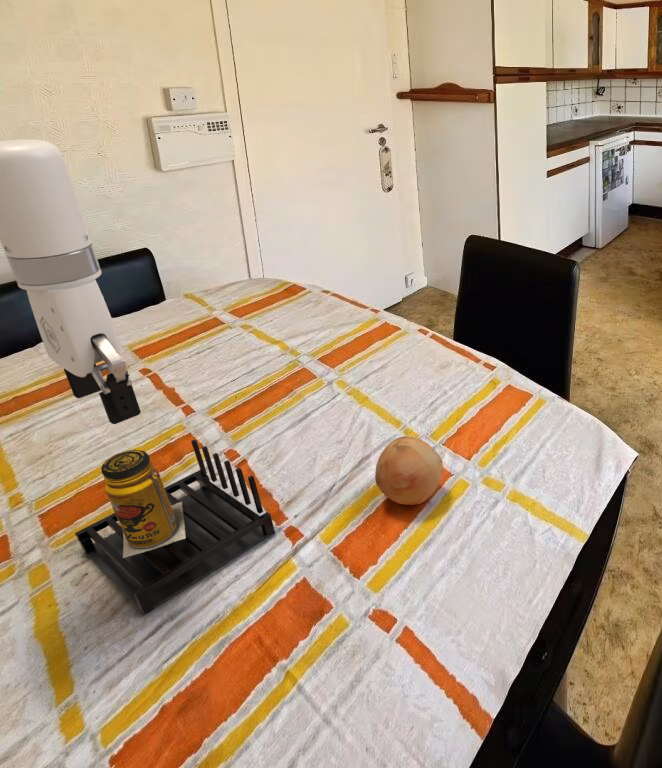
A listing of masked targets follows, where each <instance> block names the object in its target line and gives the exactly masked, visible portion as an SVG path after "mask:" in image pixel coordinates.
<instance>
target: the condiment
mask: <svg viewBox="0 0 662 768" xmlns="http://www.w3.org/2000/svg"><path fill="white" fill-rule="evenodd" d="M101 474H102V475H103V480H104V482H105V486H104V490H105V493H106V496H107V498H108V500H109V502H110V504H111V506H112V509H113V513H115V514H116V517H117V519H118V521H117V522H118V524H119V525H120V526H121V528H122V530H123V540H124V541H123V558H125V557H129V556H132V555H136V554H139V553H143V552H146V551H149V550H153V549H155V548H158V547H161V546H165V545H168V544H170V543H172V542H175V541H178V540H182V539H185V538H186V536H185V525H184V517H183V508H182V502H180V503H176V504H175V505H171V504H170V502H169V499H168V497H167V494H166V491H165V486H164V483H163V481H162V478H161V474H160V472H159V470H158V469H157V468H156V467H154V465H153V462H152V461H151V458H150V455H149V454H148V453H147V452H146V451H144V450H140V449H130V450H125V451H122V452H119V453H116V454H114V455H111V457H109V458H107V459H106V460H105V461H104V462H103V463H102V464H101Z"/></svg>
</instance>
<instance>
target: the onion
mask: <svg viewBox="0 0 662 768" xmlns="http://www.w3.org/2000/svg"><path fill="white" fill-rule="evenodd" d="M443 470H444V464H443V460H442V456H441V455H440V454H439V452H437V451H436V449H434V448H433V447H432V445H430V444H429V443H428V442H427V441H424V440H422V439H420V438H418V437H413V436H400V437H397V438H395V439H392V441H390V442H389V443H388V444H387V445H386V446H385V447H384V449H383V450H382V451H381V452H380V455H379V457H378V460H377V462H376V465H375V476H374V480H375V484H376V486H377V488H378V489H379V491H381V493H382V494H383V495H384V496H386V498H387V499H389V500H391V501H392V502H394V503H396V504H400V505H405V506H415V505H416V506H417V505H420V504H422V503H424V502H426V501H427V500H428V499H429V498H430V497H431V496H433V495H434V493H435V491H436V490H437V488H438V487H439V484H440V483H441V481H442V477H443Z"/></svg>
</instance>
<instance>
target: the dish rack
mask: <svg viewBox="0 0 662 768" xmlns="http://www.w3.org/2000/svg"><path fill="white" fill-rule="evenodd" d="M190 443H191V445H192V448H193V451H194V455H195V457H196V458H195V459H196V461H197V464H198V468H199V470H197V471H194V472H193V473H191V474H189V475H187V476H185V477H183V478H181V479H179V480H177V481H175V482H173V483H171V484H169V485H167V486H164V488H165V491H166V494H167V497H168V499H169V502H170V504H171V505H175V504H176V503H180V502H182V508H183V517H184V525H185V536H186V538H185V539H182V540H178V541H175V542H172V543H170V544H168V545H165V546H161V547H158V548H155V549H153V550H149V551H146V552H143V553H139V554H136V555H132V556H129V557H125V558H123V541H124V540H123V530H122V528H121V525H120V523H119V521H118V519H117V517H116V514H115V512H113V513H112V514H110V515H108V516H105V517H104V518H102V519H100V520H98V521H95V522H94V523H92V524H90V525H88V526H86V527H84V528H82V529H80V530H78V531H76V532H75V533H74V535H75V537H76V539H77V541H78V543H79V545H80V548H81V550H82V552H83V553H84V554H85V555H86V556H87V558H89V559H90V560H91V561H92V563H94V564H95V565H96V566H97V568H99V569H100V570H101V572H102V573H104V575H105V576H106V577H107V578H108V579H109V580H110V581H111V582H112V583H113V584H114V585H116V586H115V587H117V588H118V589H119V590H120V591H121V592H122V593H123V594H124V596H126V597H127V598H128V599H129V600H130V602H132V603H133V604H134V605H135V607H137V609H138V610H139V611H141V613H142V614H143V615H144V616H146V615H148V614H149V613H151V612H152V611H154V610H156V609H157V608H158V607H160V606H162V605H163V604H165V603H166V602H169V601H170V600H171V599H173V598H174V597H176V596H177V595H179V594H181V593H182V592H184V591H185V590H186V589H187V590H188V588H191V586H192V587H193V585H195V584H197V583H198V582H200V581H201V580H203V579H204V578H206V577H207V576H209V575H211V574H213V573H214V572H216V571H217V570H218V569H220V568H221V567H224V566H225V565H226V564H228V563H230V562H231V561H233V560H234V559H236V558H238V557H239V556H240V555H242V554H244V553H246V552H247V551H248V550H250V549H252V548H254V547H255V546H257V545H258V544H260V543H261V542H263V541H265V540H267V539H268V538H269V537H271V536H272V535H274V534H276V531H275V526H274V522H273V520H272V516H271V513H269V511H266V512H264V508H263V505H262V501H261V498H260V494H259V491H258V487H257V483H256V478H255V476H253V475H249V476H248V477H247V480H248V484H249V488H250V491H251V495H252V498H253V502H254V506H255V509H256V512H257V513H256V512H255V511H254V510H252V509H251V508H249V507H248V506H249V505H251V504H252V501H251V498H250V495H249V491H248V486H247V484H246V480H245V477H244V473H243V469H242V468H241V467H237V468H235V473H236V476H237V480H238V484H239V486H240V491H241V493H242V497H243V500H244V501H243V502H244V503H242V502H240V501H239V500H238V499H237V497H239V496H240V493H239V489H238V486H237V481H236V478H235V475H234V472H233V469H232V464H231V462H230V460H229V459H227V460H224V461H223V464H224V467H225V468H224V469H225V471H226V473H227V477H228V481H229V485H230V488H231V491H232V494H233V496H232V495H230V494H229V493H227V492H226V491H225V490H227V489H228V488H229V485H228V482H227V479H226V475H225V473H224V469H223V466H222V462H221V458H220V456H219V454H218V453H217V452H214V453H213V454H212V457H211V455H210V451H209V449H208V446H207V445H204V446H201V449H200V447H199V444H198V441H197V439H192V440H190ZM201 451H202V453H201ZM202 454H203V456H202ZM203 457H204V459H203ZM212 458H213V462H214V464H215V467H216V471H215V468H214V465H213V462H212ZM204 461H205V463H206V465H205V463H204ZM206 466H207V468H206ZM207 470H208V472H207ZM216 472H217V474H216ZM207 473H209V475H208V474H207ZM217 475H218V477H219V481H220V485H221V487H222V488H220V487H219V486H217V485H216V484H214V483H215V482H217V481H218V477H217ZM210 479H211V480H210ZM211 481H212V482H211ZM195 482H196V483H198V484H199V488H197V489H193V488H192V487H191V486H189V485H191V484H193V483H195ZM179 490H180V491H182V492H183V493H184V494H185V495H184V496H182V497H180V498H179V499H178V498H177V497H175V496H174V495H173V494H174V493H175V492H177V491H179ZM234 497H235V498H234ZM263 512H264V513H263ZM260 514H261V515H260ZM107 527H109V528H110V529H111V530H112V531H114V532H113V533H112V534H110V535H108V536H106V537H103V536H102V535H100V533H98V532H100V531H102V530H104V529H105V528H107Z"/></svg>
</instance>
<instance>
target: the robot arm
mask: <svg viewBox="0 0 662 768" xmlns="http://www.w3.org/2000/svg"><path fill="white" fill-rule="evenodd" d="M0 244H1V246H2V249H3V251H4V254H5V257H6V259H7V262H8V264H9V266H10V269H11V271H12V274H13V276H14V279H15V281H16V283H17V287H18V288H20V289H21V290H23V291H24V290H26V294H27V298H28V302H29V304H30V308H31V311H32V313H33V317H34V320H35V323H36V326H37V329H38V331H39V334H40V335H39V336H40V338H41V341H42V343H43V346H44V349H45V351H46V354H47V355H48V358H50V359H51V360H52V361H53V362H55V364H57V365H59V366H60V367H61V368H62V369H63V372H64V375H65V376H66V379H67V382H68V384H69V386H70V389H71V392H72V394H73V396H74V397H75V398H76V399H82V398H85V397H87V396H90V395H92V394H96V393H98V394H99V397H100V400H101V402H102V405H103V408H104V411H105V413H106V417H107V419H108V422H109V423H110V424H112V425H117V424H120V423H122V422H124V421H127V420H130V419H132V418H135V417H137V416H139V415H140V414H141V412H142V411H141V408H140V405H139V402H138V399H137V396H136V393H135V390H134V388H133V387H134V386H133V383H132V380H131V378H130V374H129V371H128V370H127V366H126V364H127V363H126V362H125V353H124V350H123V347H122V344H121V341H120V336H119V334H118V331H117V329H116V326H115V323H114V321H113V318H112V316H111V313H110V311H109V308H108V305H107V302H106V301H105V298H104V295H103V294H102V291H101V289H100V287H99V285H98V282H97V280H96V279H98V278H99V277H100V276H101V275H102V269H101V266H100V263H99V261H98V257H97V253H96V251H95V247H94V245H93V243H92V239H91V236H90V233H89V231H88V227H87V224H86V221H85V218H84V215H83V212H82V209H81V206H80V203H79V200H78V196H77V194H76V191H75V187H74V185H73V181H72V178H71V176H70V173H69V169H68V167H67V163H66V161H65V158H64V156H63V154H62V152H61V150H60V149H59V147H57V146H56V145H55V144H53V143H52V142H50V141H47V140H43V139H35V138H34V139H32V138H23V139H6V140H0ZM101 362H104V363H101ZM98 363H101V364H98ZM106 372H109V373H107V375H106V379H105V377H104V376H103V374H102V373H106Z"/></svg>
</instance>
